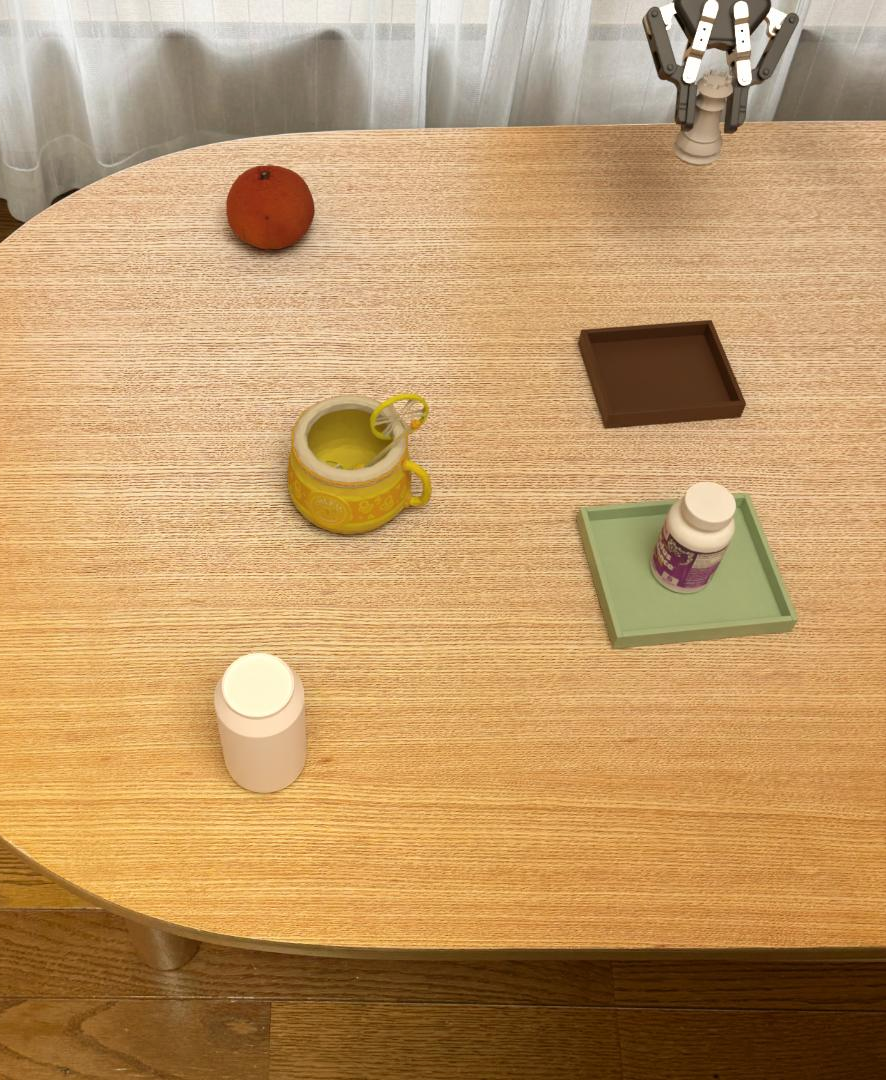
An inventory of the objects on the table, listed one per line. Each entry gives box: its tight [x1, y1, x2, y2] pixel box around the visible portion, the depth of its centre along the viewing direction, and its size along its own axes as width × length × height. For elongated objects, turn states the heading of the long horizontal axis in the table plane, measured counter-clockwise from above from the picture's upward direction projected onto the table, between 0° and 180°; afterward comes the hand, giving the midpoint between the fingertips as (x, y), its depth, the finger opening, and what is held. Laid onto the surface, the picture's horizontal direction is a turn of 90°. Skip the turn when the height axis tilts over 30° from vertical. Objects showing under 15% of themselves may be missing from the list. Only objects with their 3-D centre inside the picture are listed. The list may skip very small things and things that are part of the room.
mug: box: [286, 392, 433, 535], centre depth 98 cm, size 13×11×12 cm
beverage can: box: [213, 652, 308, 794], centre depth 84 cm, size 6×6×12 cm
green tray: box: [576, 492, 799, 650], centre depth 98 cm, size 15×13×2 cm
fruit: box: [225, 164, 316, 250], centre depth 120 cm, size 9×9×8 cm
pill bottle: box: [650, 481, 736, 593], centre depth 95 cm, size 5×5×10 cm
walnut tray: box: [577, 319, 747, 429], centre depth 111 cm, size 13×11×2 cm
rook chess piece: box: [672, 68, 733, 167], centre depth 107 cm, size 4×4×8 cm
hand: (708, 130), depth 106 cm, fingers closed on rook chess piece, 3 cm apart
